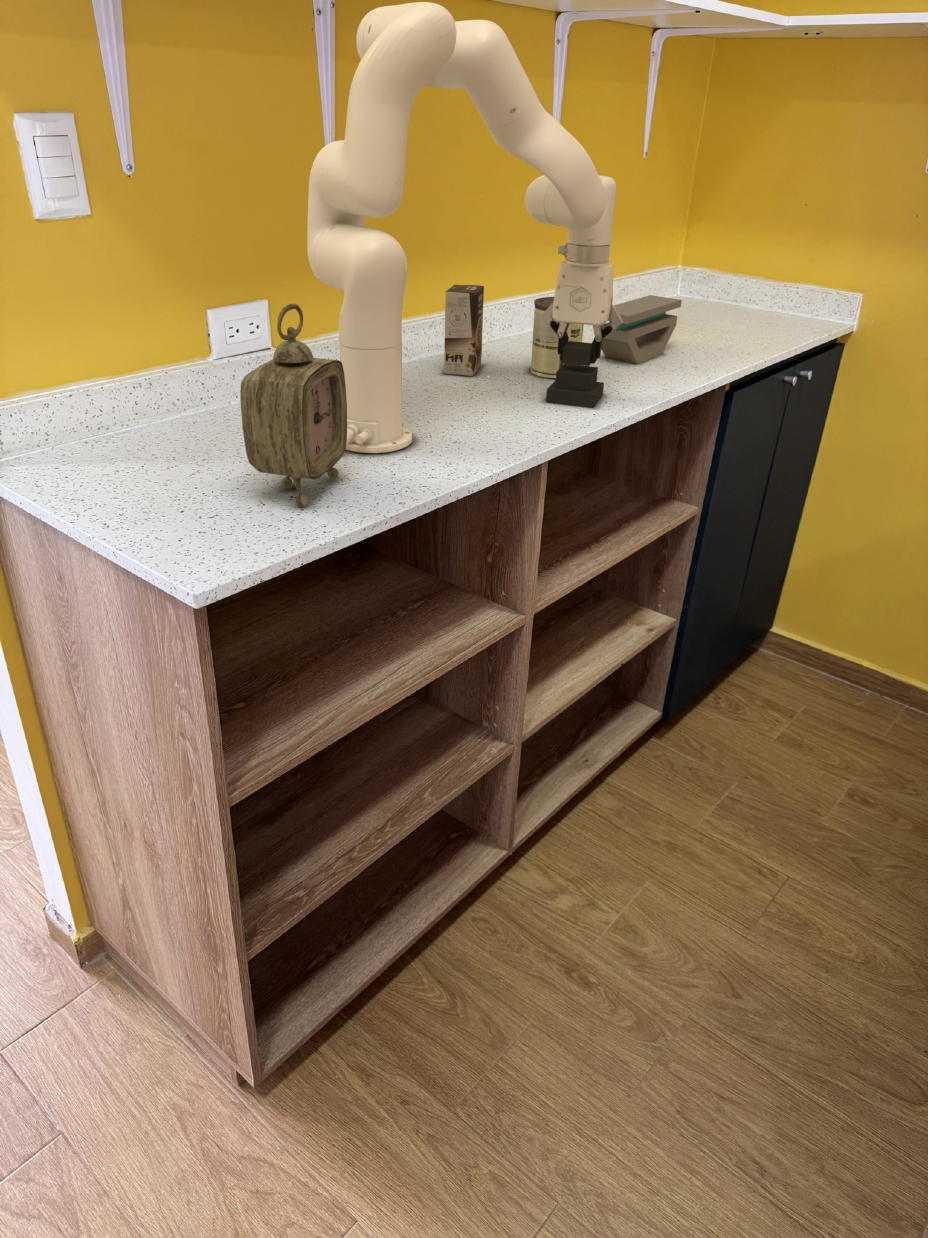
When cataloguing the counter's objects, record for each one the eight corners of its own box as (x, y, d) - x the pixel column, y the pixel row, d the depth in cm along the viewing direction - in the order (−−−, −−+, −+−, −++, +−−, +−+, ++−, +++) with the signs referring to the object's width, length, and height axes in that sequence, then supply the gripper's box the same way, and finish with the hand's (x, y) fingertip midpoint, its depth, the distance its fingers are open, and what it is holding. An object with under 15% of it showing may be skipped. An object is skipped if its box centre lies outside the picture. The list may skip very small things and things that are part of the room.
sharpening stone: (644, 343, 207) (650, 294, 201) (674, 349, 203) (681, 299, 197) (590, 363, 189) (595, 310, 184) (622, 369, 185) (628, 316, 180)
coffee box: (474, 376, 178) (476, 292, 169) (443, 374, 179) (444, 290, 170) (482, 365, 185) (485, 284, 177) (452, 363, 186) (454, 282, 178)
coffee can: (540, 363, 188) (544, 294, 181) (586, 369, 184) (592, 299, 177) (522, 374, 180) (526, 302, 173) (570, 381, 176) (576, 308, 169)
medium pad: (589, 391, 161) (591, 375, 160) (555, 387, 163) (556, 371, 162) (596, 383, 167) (598, 367, 165) (563, 379, 168) (564, 363, 167)
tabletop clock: (308, 513, 117) (294, 318, 104) (246, 505, 119) (225, 312, 106) (349, 476, 129) (342, 296, 116) (293, 468, 131) (279, 291, 118)
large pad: (593, 408, 161) (594, 394, 160) (545, 402, 164) (546, 388, 162) (602, 395, 169) (604, 382, 167) (557, 389, 171) (558, 377, 170)
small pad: (588, 366, 160) (590, 349, 158) (561, 363, 161) (563, 346, 160) (594, 359, 164) (595, 343, 162) (568, 357, 165) (569, 340, 164)
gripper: (534, 253, 152) (528, 360, 162) (632, 261, 148) (620, 370, 157) (545, 248, 159) (538, 351, 168) (639, 255, 154) (627, 360, 163)
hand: (578, 359), depth 162 cm, fingers closed on small pad, 5 cm apart
